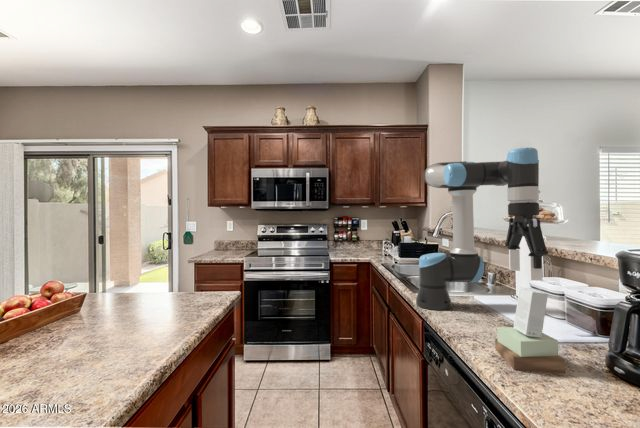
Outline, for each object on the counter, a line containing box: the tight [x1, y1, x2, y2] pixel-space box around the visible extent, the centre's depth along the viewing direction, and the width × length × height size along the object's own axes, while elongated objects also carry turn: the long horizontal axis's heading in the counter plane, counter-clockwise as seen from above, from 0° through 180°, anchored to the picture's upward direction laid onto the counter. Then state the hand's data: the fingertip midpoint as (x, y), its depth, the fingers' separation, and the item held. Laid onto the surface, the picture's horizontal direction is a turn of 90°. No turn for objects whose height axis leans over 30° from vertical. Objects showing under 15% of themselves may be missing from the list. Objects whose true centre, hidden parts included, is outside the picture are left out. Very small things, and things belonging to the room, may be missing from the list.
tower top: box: [496, 326, 559, 357], centre depth 84 cm, size 10×10×4 cm
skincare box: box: [513, 286, 549, 338], centre depth 84 cm, size 6×4×12 cm
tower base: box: [494, 338, 566, 374], centre depth 84 cm, size 12×12×4 cm
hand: (524, 275), depth 88 cm, fingers open, 13 cm apart
